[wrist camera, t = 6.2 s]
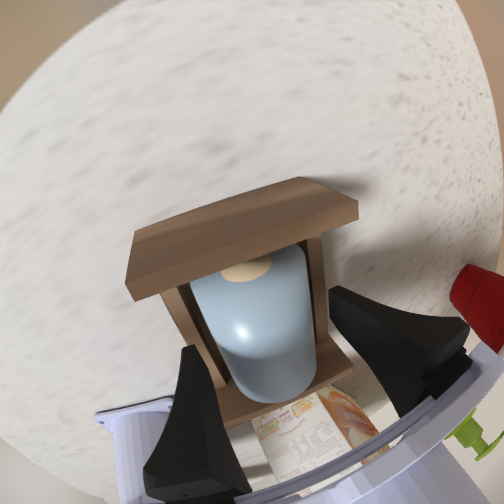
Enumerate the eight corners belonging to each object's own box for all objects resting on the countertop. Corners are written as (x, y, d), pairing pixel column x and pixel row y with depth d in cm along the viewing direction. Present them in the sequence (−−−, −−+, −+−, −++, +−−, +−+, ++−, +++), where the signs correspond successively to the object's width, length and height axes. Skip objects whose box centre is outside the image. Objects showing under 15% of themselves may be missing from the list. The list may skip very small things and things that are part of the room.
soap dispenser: (432, 343, 32) (512, 425, 14) (413, 374, 34) (482, 452, 17) (409, 355, 30) (496, 449, 13) (389, 387, 32) (462, 476, 15)
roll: (310, 332, 17) (322, 397, 13) (236, 344, 18) (232, 408, 13) (296, 226, 13) (315, 289, 9) (199, 245, 14) (177, 311, 10)
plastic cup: (435, 288, 25) (511, 348, 14) (480, 230, 24) (550, 272, 14) (436, 331, 30) (490, 381, 20) (477, 281, 30) (530, 321, 20)
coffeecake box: (355, 397, 29) (434, 503, 13) (312, 428, 30) (380, 536, 13) (302, 364, 21) (425, 544, 5) (242, 408, 22) (329, 584, 5)
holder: (317, 327, 20) (353, 372, 16) (206, 372, 18) (223, 428, 14) (298, 176, 14) (357, 200, 10) (134, 231, 13) (125, 283, 8)
